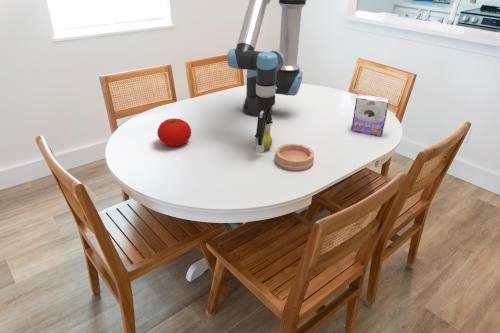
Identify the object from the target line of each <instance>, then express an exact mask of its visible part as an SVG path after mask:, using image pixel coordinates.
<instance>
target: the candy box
mask: <svg viewBox="0 0 500 333" xmlns="http://www.w3.org/2000/svg"><path fill="white" fill-rule="evenodd" d="M354 105H355V106H354V110H353V117H352V123H351V127H350V128H351V129H350V132H353V133H361V134H366V135H370V136H377V137H382V136H383V133H384V129H385V125H386V120H387V115H388V109H389V105H390V98H388V97H381V96H380V97H379V96H373V95H368V94H362V93H358V95H357V96H356V98H355V103H354Z"/></svg>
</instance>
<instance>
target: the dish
mask: <svg viewBox="0 0 500 333" xmlns="http://www.w3.org/2000/svg"><path fill="white" fill-rule="evenodd" d="M314 155H315V152H314V151H313V150H312V149H311V148H310V147H308V146H306V145H304V144H298V143H287V144H286V143H285V144H282V145H280V146H278V147H277V149H276V151H275V154H274V162H275V164H276V165H277V166H278V167H279V168H281V169H283V170H286V171H290V172H302V171H303V172H305V171H306V170H309V169H311V168H312V167H313V166H314V160H315V158H314V157H315V156H314Z"/></svg>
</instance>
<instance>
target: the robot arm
mask: <svg viewBox="0 0 500 333" xmlns="http://www.w3.org/2000/svg"><path fill="white" fill-rule="evenodd" d="M270 3H271V0H249V1H248V5H247V9H246V10H245V15H244V18H243V23H242V26H241V30H240V32H239V36H238V39H237V43H236V47H235V48H230V49H229V50H228V52H227V56H226V61H227V64H228V65H227V66H228V67H229V68H232V69H236V70H246V95H245V96H246V97H245V99H244V102H243V105H242V112H243V114H245V115H248V116H250V117H257V124H256V132H255V134H254V138H255V139H256V138H257V145H256V152H257V153H259V152H260V153H264V151H265V149H264V130H265V129H267V131H268V133H269V135H270V136H271V129H272V128H271V126H272V124H273V123H274V121H273V106H274V105H275V104H276V95H283V96H286V97H287V96H291V97H293V96H296V95H297V94H298V93H299V90H300V89H301V88H300V87H301V83H302V80H303V71H302V70H301V68H300V67H301V66H299V64H298V54H299V53H298V52H299V44H300V32H301V30H300V29H301V21H302V18H301V17H302V10H303V9H302V8H304V7H305V6H306V4H307V0H278V5H279V6H280V7H281V17H280V18H281V20H280V33H279V34H280V35H279V48H278V50H276V49H275V50H271V51H260V50H256V46H257V43H258V39H259V35H260V32H261V28H262V25H263V24H262V23H263V20H264V16H265V13H266V10H267V5H269V4H270ZM267 122H268V123H267ZM266 123H267V125H266ZM265 125H266V126H265Z"/></svg>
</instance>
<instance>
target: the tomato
mask: <svg viewBox="0 0 500 333" xmlns="http://www.w3.org/2000/svg"><path fill="white" fill-rule="evenodd" d="M156 133H157V137H158V139H159V140H160V142H161V143H162V144H163V145H166V146H169V147H175V146H176V147H177V146H181V145H184V144H186V142H188V141H189V139H190V138H191V136H192V129H191V125H190V124H189V123H188V121H186V120H183V119H181V118H176V117H175V118H167V119H165V120H163V121H162V122H161V123H160V124H159V126H158V128H157V132H156Z"/></svg>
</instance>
